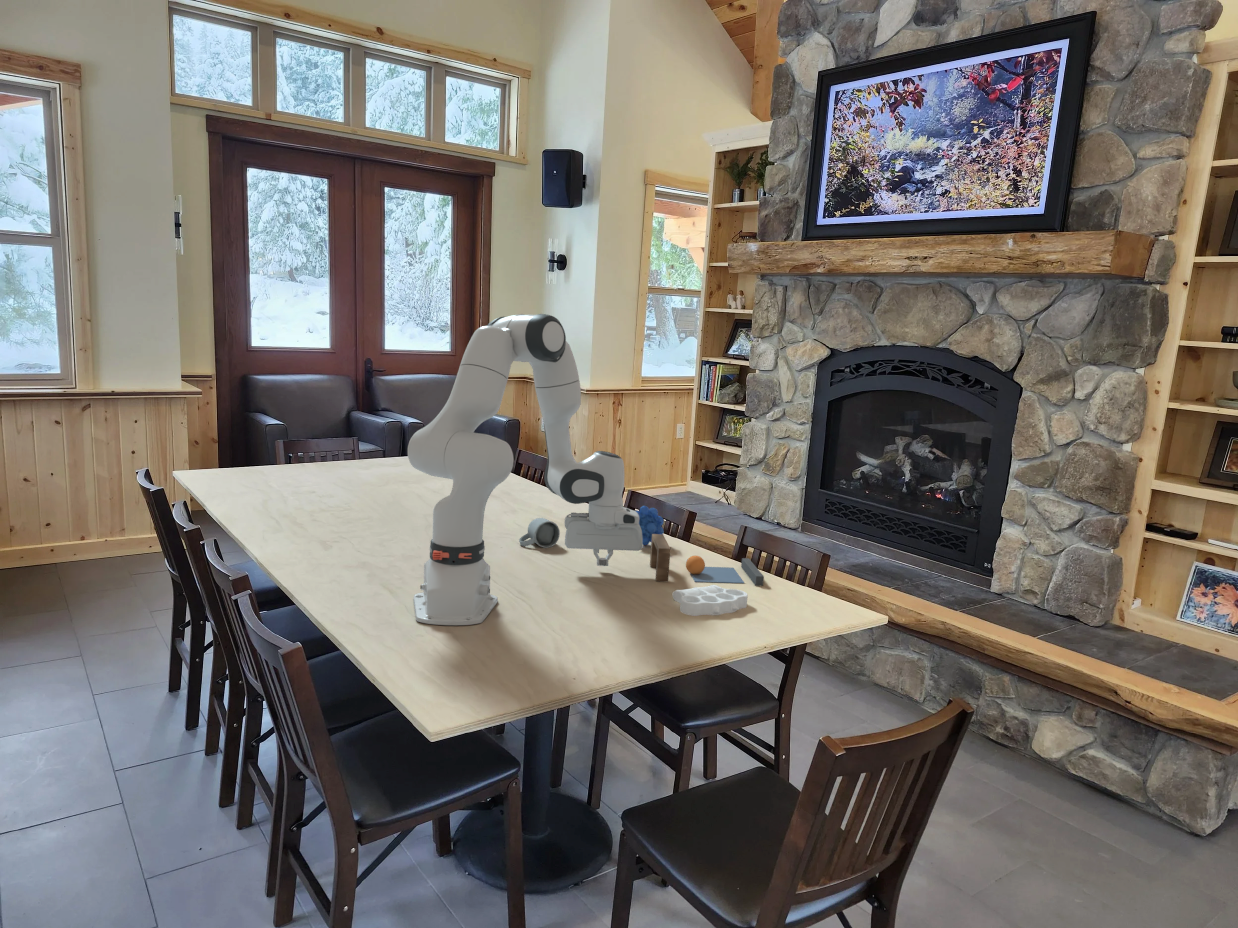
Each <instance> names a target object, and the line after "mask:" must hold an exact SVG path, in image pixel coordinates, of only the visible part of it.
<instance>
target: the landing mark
mask: <svg viewBox="0 0 1238 928" xmlns="http://www.w3.org/2000/svg"><path fill="white" fill-rule="evenodd" d="M689 573H690V572H689ZM690 576H691V578H692V579H693V581H694V582H695V583H714V584H715V583H718V584H719V583H720V584H745V581H744V580H743V578H742V577H741V576H740V575H739V573H738V572H737V570H736V569H735V568H734V567H727V566H726V567H725V566H722V567H721V566H705V568H704V570H703V571H702V572H701V573H700V574H696V575H695V574H691V573H690Z"/></svg>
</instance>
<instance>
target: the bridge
mask: <svg viewBox="0 0 1238 928" xmlns="http://www.w3.org/2000/svg"><path fill="white" fill-rule="evenodd" d="M649 558H650V559H649V566H650V568H655V581H656V582H663V583H664V582H669V574H670V561H671V547H670V545H669V543H668V541H667V539H666V537H665V535H664V533H663V534H652V541H651V542H650V556H649Z"/></svg>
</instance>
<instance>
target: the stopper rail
mask: <svg viewBox="0 0 1238 928" xmlns="http://www.w3.org/2000/svg"><path fill="white" fill-rule="evenodd" d="M740 567H741V569H742V570H743V572H744V573H745V574H746V575H747V577H748V578H749V580H750V581H751V582H752V583H753V584H754V586H756V587H757V586H758V587H760V586H761V587H763V586H764V578H765V576H764V575H763V573H762V572H760V569H758V568H757V566H756V565H755V564H754V563H753V562H752V560H751V559H750V558H745V557H743V558H741V565H740Z"/></svg>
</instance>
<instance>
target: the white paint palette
mask: <svg viewBox="0 0 1238 928" xmlns="http://www.w3.org/2000/svg"><path fill="white" fill-rule="evenodd" d="M748 597H749V596H748V593H747V592H746V591H744V590H741V589H736V588H723V587H720V586H719V585H716V584H711V585H709V586H701V587H698V586H695V587H693V588H686V589H676V590H674V591H672V598H673V600H674V601H675V602H677V603H679V604H680V605H679V606H680V607H679V611H680V613H682V614H684V615H687V616H693V617H699V616H703V615H706V616H721V615H724V614H733V613H735V612H737V611H738V610H741V609H746V608H747V607H748Z"/></svg>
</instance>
